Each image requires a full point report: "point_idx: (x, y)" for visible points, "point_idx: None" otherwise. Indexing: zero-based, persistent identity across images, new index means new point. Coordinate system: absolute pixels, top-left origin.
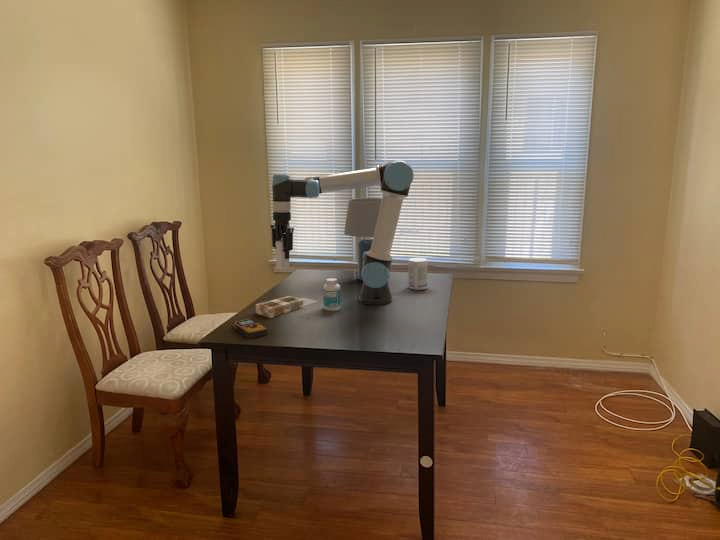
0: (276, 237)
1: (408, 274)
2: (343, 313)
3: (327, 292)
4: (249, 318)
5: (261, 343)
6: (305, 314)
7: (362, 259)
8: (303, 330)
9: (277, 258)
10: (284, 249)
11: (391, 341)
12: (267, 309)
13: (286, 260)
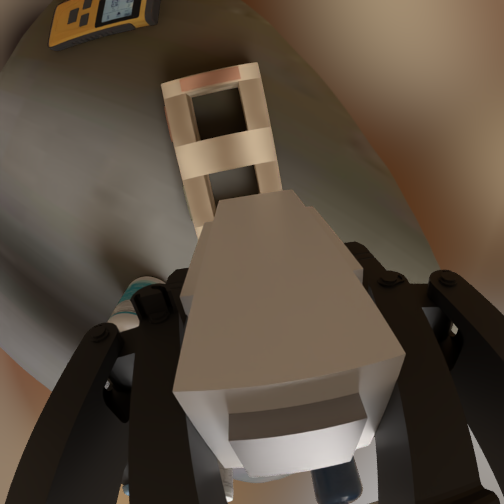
0: (447, 431)
1: (222, 471)
2: (105, 298)
3: (116, 311)
4: (145, 11)
5: (27, 35)
6: (142, 206)
7: (331, 466)
8: (33, 144)
9: (285, 219)
10: (159, 323)
11: None
12: (178, 80)
13: None
